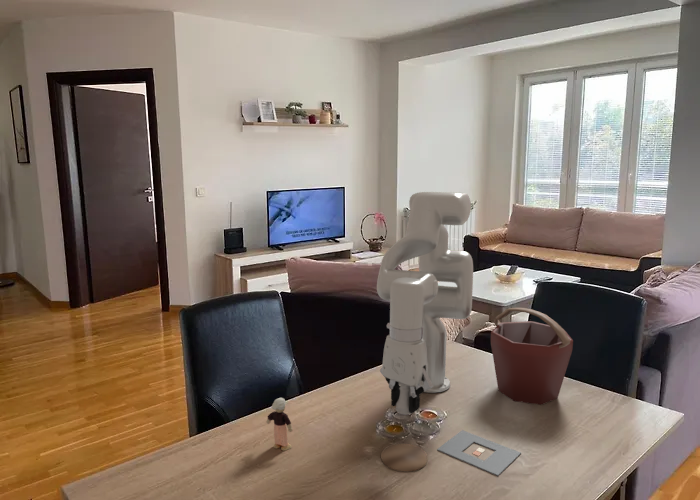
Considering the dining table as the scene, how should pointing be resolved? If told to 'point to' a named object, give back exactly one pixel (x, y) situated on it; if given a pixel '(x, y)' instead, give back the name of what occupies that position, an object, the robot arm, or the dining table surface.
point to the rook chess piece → (403, 399)
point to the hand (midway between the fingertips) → (405, 406)
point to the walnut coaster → (404, 457)
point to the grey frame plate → (492, 464)
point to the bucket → (530, 357)
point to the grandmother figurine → (280, 424)
